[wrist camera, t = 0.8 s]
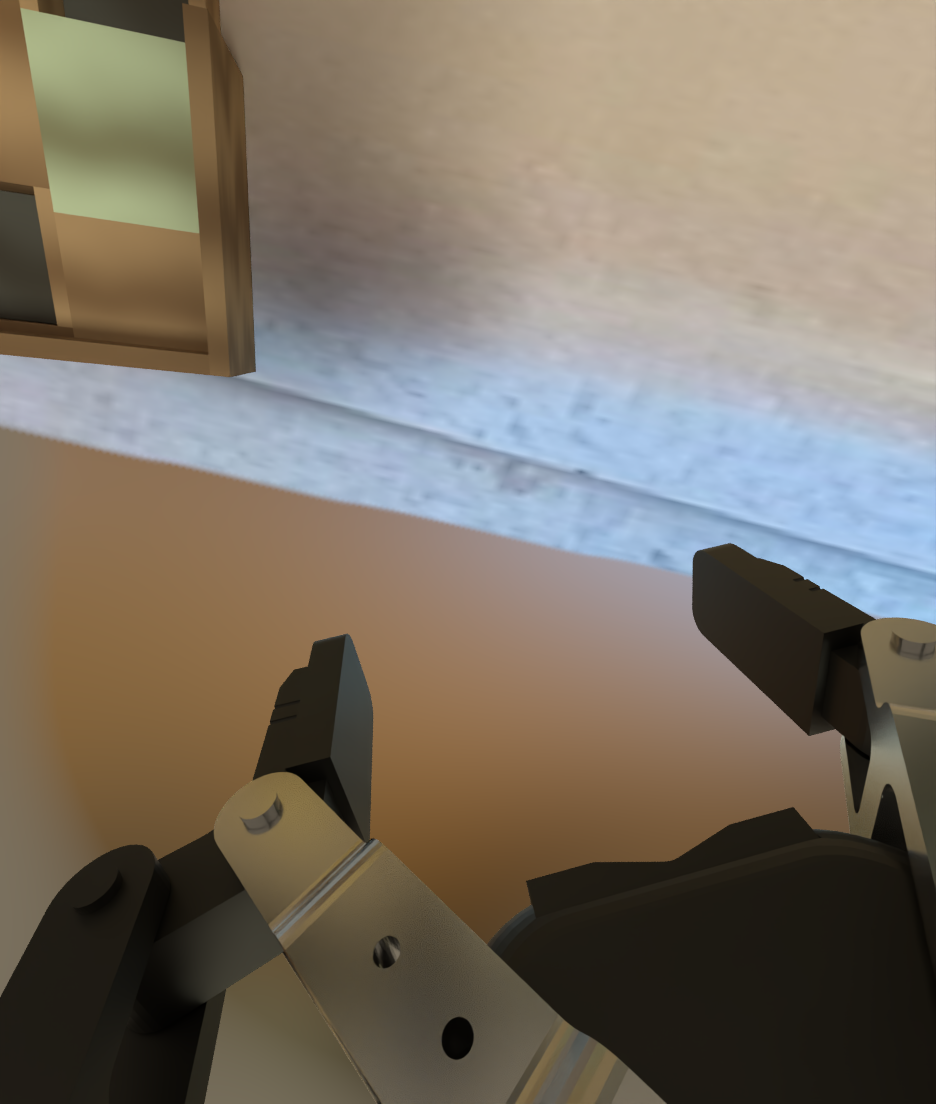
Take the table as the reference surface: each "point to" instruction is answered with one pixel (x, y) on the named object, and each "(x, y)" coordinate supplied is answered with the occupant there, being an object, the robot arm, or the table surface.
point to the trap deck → (123, 187)
